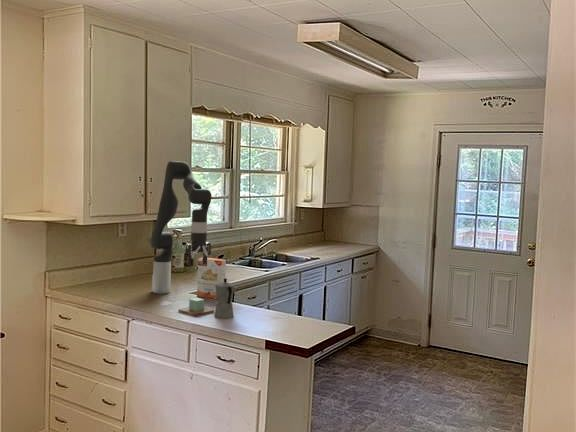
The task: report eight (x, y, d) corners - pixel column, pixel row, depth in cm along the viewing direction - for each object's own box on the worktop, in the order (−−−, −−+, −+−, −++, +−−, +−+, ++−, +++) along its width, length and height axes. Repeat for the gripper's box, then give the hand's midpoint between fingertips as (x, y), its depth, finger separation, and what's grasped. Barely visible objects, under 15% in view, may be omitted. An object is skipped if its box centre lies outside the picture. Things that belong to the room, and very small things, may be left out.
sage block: (189, 309, 274) (189, 299, 273) (196, 307, 278) (197, 297, 277) (196, 311, 271) (196, 301, 270) (204, 309, 275) (204, 299, 274)
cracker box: (196, 297, 306) (197, 258, 304) (201, 294, 311) (202, 256, 310) (220, 299, 301) (221, 260, 300) (225, 297, 307) (226, 259, 306)
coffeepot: (210, 313, 273) (211, 276, 272) (229, 312, 277) (230, 275, 276) (219, 321, 259) (221, 282, 258) (239, 320, 263) (241, 281, 261)
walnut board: (178, 311, 273) (178, 309, 273) (197, 307, 283) (197, 305, 282) (195, 316, 266) (195, 314, 266) (214, 312, 275) (214, 309, 275)
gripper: (204, 229, 279) (203, 262, 280) (182, 231, 268) (181, 265, 269) (215, 231, 274) (214, 264, 276) (193, 233, 263) (192, 267, 264)
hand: (197, 265), depth 272 cm, fingers open, 8 cm apart
